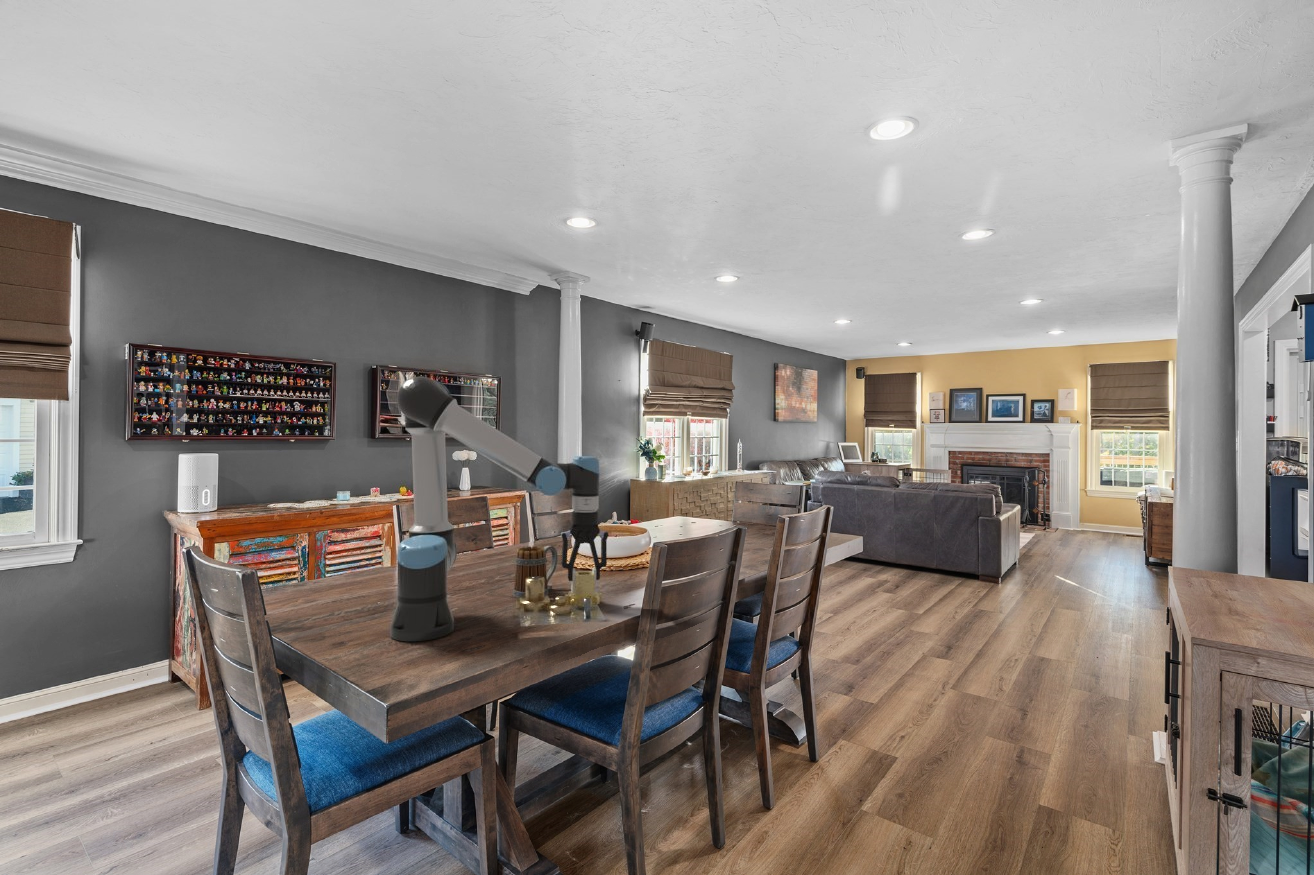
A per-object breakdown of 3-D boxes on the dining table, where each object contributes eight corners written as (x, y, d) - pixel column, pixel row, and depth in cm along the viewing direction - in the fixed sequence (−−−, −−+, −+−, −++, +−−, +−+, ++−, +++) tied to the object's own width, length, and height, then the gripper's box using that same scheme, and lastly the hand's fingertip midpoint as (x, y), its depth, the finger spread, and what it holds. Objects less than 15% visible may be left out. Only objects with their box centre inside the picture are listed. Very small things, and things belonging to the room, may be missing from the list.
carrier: (517, 631, 156) (517, 593, 156) (515, 607, 177) (515, 573, 177) (606, 624, 161) (606, 588, 161) (593, 602, 182) (594, 569, 182)
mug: (529, 605, 179) (529, 553, 179) (505, 598, 185) (505, 549, 185) (567, 593, 191) (567, 546, 191) (544, 588, 198) (544, 542, 198)
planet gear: (567, 607, 169) (567, 578, 169) (563, 597, 179) (563, 569, 179) (604, 605, 172) (605, 577, 172) (598, 595, 182) (599, 568, 182)
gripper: (554, 512, 169) (552, 596, 169) (619, 511, 174) (617, 593, 174) (551, 509, 176) (550, 589, 177) (614, 508, 181) (612, 587, 181)
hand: (583, 591), depth 175 cm, fingers closed on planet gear, 5 cm apart
